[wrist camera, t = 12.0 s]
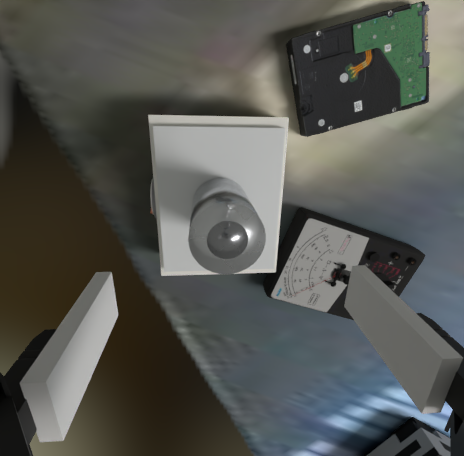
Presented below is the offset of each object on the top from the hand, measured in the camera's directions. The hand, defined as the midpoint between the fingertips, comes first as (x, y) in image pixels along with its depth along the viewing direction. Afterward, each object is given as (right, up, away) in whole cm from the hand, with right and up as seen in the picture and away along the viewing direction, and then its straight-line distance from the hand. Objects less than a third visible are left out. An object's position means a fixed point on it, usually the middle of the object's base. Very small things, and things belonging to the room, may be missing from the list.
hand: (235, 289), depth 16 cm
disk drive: (+14, +21, +18) cm, 31 cm away
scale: (-2, +8, +21) cm, 23 cm away
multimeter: (+15, -2, +27) cm, 31 cm away
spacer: (-1, +6, +15) cm, 16 cm away
